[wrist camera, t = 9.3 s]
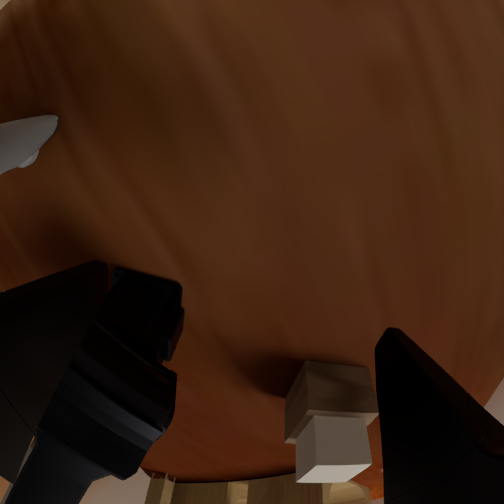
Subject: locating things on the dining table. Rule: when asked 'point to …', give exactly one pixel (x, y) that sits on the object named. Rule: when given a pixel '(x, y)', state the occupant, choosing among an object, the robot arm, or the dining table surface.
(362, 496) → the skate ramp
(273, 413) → the dining table surface
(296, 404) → the walnut block
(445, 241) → the dining table surface
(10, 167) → the tall pale column
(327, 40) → the dining table surface
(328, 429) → the cream block
